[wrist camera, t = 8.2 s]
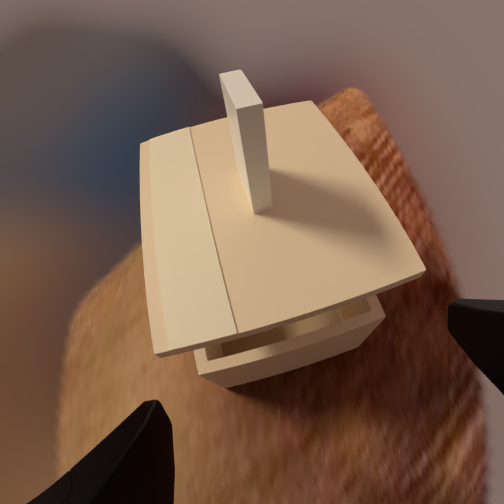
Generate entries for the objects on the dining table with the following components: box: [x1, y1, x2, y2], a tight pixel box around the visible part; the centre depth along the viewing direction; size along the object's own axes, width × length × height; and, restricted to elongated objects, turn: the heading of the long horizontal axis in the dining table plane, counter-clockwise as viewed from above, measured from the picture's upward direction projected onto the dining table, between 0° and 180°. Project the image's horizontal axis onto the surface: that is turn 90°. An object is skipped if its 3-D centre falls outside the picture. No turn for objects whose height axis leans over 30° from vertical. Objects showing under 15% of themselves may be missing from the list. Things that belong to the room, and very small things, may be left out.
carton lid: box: [140, 70, 426, 358], centre depth 11 cm, size 12×10×6 cm
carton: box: [193, 295, 386, 388], centre depth 20 cm, size 12×10×7 cm
